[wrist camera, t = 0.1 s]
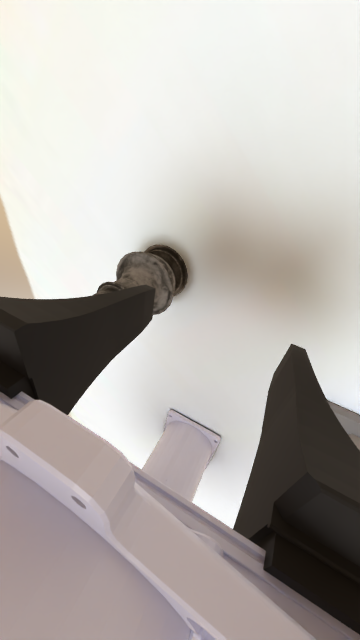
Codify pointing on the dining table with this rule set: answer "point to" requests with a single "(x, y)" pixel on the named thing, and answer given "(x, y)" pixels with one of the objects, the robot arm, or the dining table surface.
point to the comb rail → (348, 422)
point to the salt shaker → (151, 274)
